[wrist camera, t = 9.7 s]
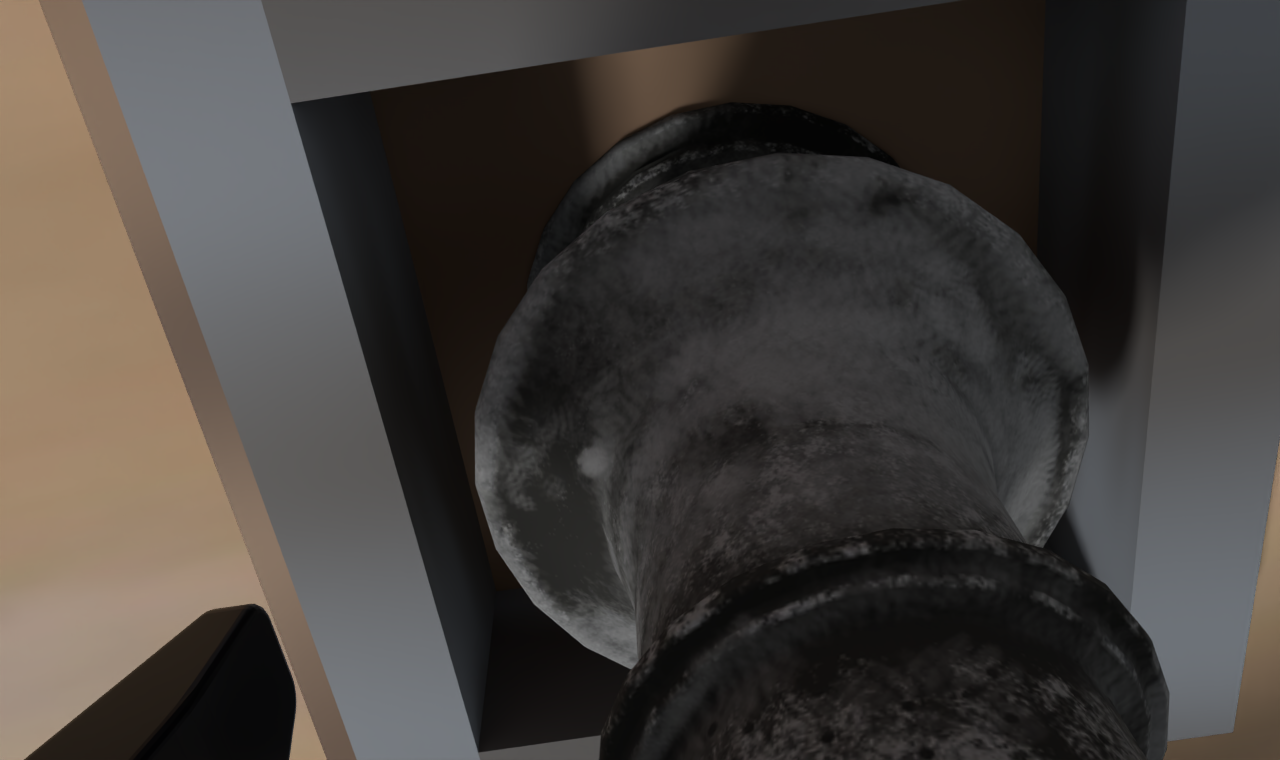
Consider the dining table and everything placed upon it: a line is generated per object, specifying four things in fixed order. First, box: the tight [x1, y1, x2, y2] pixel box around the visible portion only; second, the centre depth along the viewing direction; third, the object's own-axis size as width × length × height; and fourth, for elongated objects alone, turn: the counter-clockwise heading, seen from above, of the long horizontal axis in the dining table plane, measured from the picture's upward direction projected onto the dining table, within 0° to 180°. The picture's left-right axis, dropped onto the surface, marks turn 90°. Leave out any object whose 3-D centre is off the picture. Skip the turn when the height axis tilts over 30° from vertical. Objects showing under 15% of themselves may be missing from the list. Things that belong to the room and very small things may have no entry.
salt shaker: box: [475, 102, 1170, 760], centre depth 8 cm, size 6×6×12 cm
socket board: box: [39, 0, 1280, 760], centre depth 12 cm, size 14×14×4 cm
